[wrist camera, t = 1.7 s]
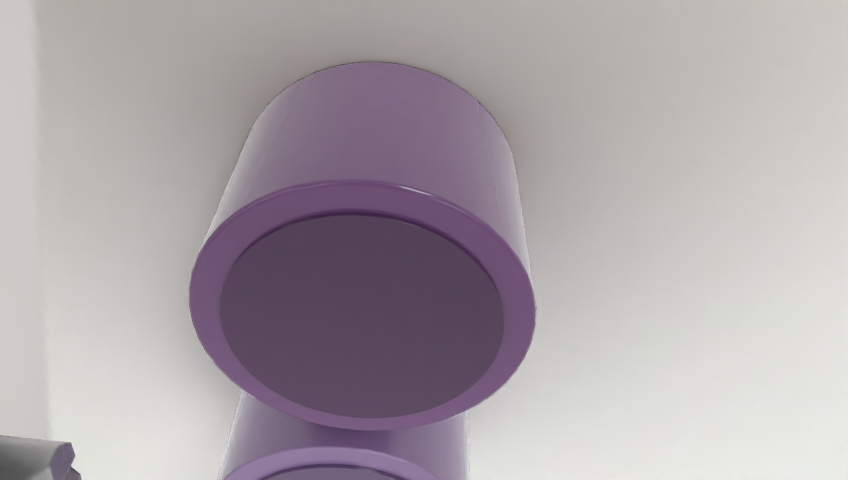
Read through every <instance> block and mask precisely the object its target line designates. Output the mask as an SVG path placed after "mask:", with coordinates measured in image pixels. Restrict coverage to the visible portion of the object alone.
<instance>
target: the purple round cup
mask: <svg viewBox="0 0 848 480" xmlns="http://www.w3.org/2000/svg"><path fill="white" fill-rule="evenodd" d="M189 306H190V312H191V317H192V322H193V325H194V327H195V330H196V333H197V336H198V338H199V340H200V342H201V343H202V345H203V347H204V349H205V351H206V352H207V354H208V355H209V356H210V358H211V359H212V360H213V362H214V363H215V364H216V366H217V367H218V368H219V369H220V370H221V371H222V372H223V373H224V374H225V375H226V376H227V377H228V378H229V379H230V380H231V381H232V382H234V383H235V384H236V385H237V386H239V387H240V388H241V389H242V390H243V391H245V392H246V393H248V394H249V395H251V396H253V397H254V398H256V399H257V400H259V401H260V402H262V403H264V404H266V405H268V406H270V407H272V408H274V409H276V410H278V411H280V412H283V413H285V414H288V415H290V416H293V417H295V418H299V419H302V420H305V421H308V422H311V423H315V424H320V425H324V426H329V427H334V428H341V429H349V430H362V431H391V430H400V429H409V428H414V427H419V426H424V425H429V424H433V423H436V422H439V421H443V420H446V419H449V418H451V417H454V416H456V415H459V414H461V413H463V412H465V411H467V410H469V409H471V408H473V407H475V406H477V405H479V404H480V403H482V402H483V401H484V400H486V399H487V398H489V397H490V396H492V395H493V394H494V393H495V392H497V391H498V390H499V389H500V388H501V387H502V386H503V385H504V384H506V383H507V381H508V380H509V379H510V378H511V377H512V375H513V374H514V373H515V372H516V371H517V369H518V368H519V366H520V364H521V363H522V361H523V360H524V358H525V356H526V354H527V351H528V349H529V347H530V344H531V342H532V339H533V334H534V330H535V325H536V302H535V295H534V288H533V281H532V275H531V268H530V261H529V254H528V248H527V241H526V234H525V228H524V221H523V214H522V207H521V201H520V194H519V187H518V180H517V174H516V167H515V161H514V158H513V155H512V151H511V148H510V145H509V143H508V141H507V139H506V137H505V135H504V133H503V131H502V130H501V128H500V127H499V125H498V124H497V122H496V121H495V119H494V118H493V117H492V116H491V114H490V113H489V112H488V111H487V110H486V109H485V108H484V107H483V106H482V105H481V104H480V103H479V102H478V101H477V100H476V99H474V98H473V97H472V96H471V95H470V94H468V93H467V92H466V91H464V90H463V89H461V88H459V87H458V86H456V85H455V84H453V83H451V82H450V81H448V80H445V79H443V78H441V77H439V76H437V75H435V74H433V73H430V72H427V71H424V70H420V69H417V68H414V67H410V66H405V65H399V64H394V63H381V62H363V63H351V64H345V65H340V66H335V67H331V68H328V69H325V70H322V71H318V72H315V73H313V74H311V75H309V76H307V77H305V78H303V79H300V80H298V81H297V82H295V83H294V84H292V85H291V86H289V87H288V88H286V89H285V90H283V91H282V92H281V93H280V94H279V95H277V96H276V97H275V98H274V99H273V100H272V101H271V102H270V103H269V104H268V105H267V106H266V107H265V109H264V110H263V111H262V112H261V114H260V115H259V116H258V118H257V120H256V121H255V123H254V125H253V126H252V128H251V130H250V132H249V135H248V137H247V139H246V142H245V144H244V147H243V149H242V151H241V154H240V156H239V158H238V161H237V163H236V165H235V168H234V170H233V173H232V175H231V177H230V180H229V182H228V184H227V187H226V189H225V191H224V194H223V196H222V199H221V201H220V203H219V206H218V208H217V210H216V213H215V215H214V217H213V220H212V222H211V225H210V227H209V229H208V232H207V234H206V236H205V239H204V241H203V243H202V246H201V248H200V251H199V253H198V255H197V258H196V261H195V263H194V266H193V269H192V272H191V278H190V283H189Z"/></svg>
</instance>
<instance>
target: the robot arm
mask: <svg viewBox="0 0 848 480" xmlns="http://www.w3.org/2000/svg"><path fill="white" fill-rule="evenodd" d="M74 458H75V453H74V450H73V448H72V445H71V442H61V441H51V440H41V439H31V438H22V437H11V436H2V435H0V480H82V479H81V475H80V473H78V472H77V471H76V470H74V469H73V468H72V467H71V464H72V462H73V460H74Z"/></svg>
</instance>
